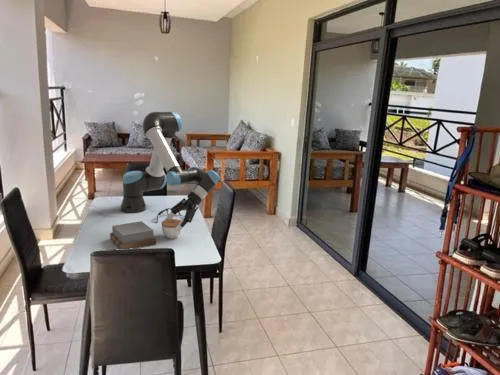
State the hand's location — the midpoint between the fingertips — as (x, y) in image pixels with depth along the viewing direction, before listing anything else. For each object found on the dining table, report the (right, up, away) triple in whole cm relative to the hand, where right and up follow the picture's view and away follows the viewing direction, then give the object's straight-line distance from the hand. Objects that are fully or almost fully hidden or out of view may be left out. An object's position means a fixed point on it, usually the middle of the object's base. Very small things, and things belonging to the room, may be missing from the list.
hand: (170, 227), depth 200 cm
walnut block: (-17, -7, -7) cm, 20 cm away
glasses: (-4, +1, +28) cm, 29 cm away
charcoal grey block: (-17, -3, -9) cm, 19 cm away
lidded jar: (0, -5, +2) cm, 6 cm away
